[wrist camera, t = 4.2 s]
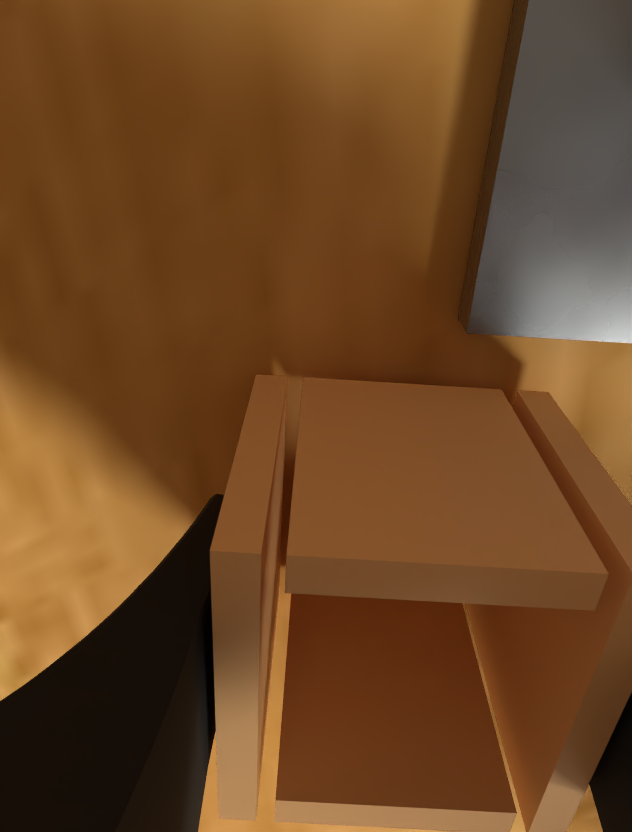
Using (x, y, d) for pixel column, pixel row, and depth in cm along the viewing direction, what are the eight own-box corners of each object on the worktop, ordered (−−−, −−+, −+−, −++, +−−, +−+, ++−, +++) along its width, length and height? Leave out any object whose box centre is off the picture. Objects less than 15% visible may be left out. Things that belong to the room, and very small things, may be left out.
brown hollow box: (490, 605, 14) (563, 837, 10) (253, 591, 14) (219, 818, 10) (548, 392, 11) (685, 578, 7) (256, 374, 11) (210, 550, 7)
